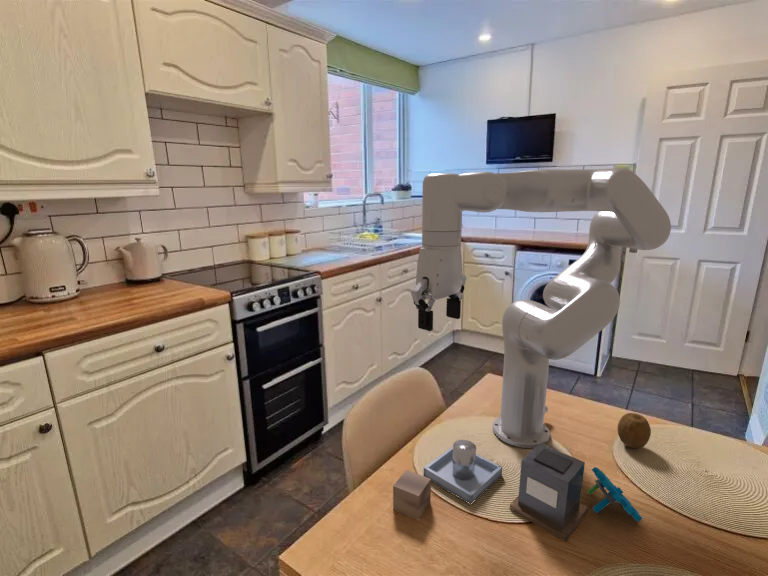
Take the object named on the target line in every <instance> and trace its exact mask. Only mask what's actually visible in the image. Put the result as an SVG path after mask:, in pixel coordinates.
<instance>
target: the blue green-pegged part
mask: <svg viewBox="0 0 768 576" xmlns="http://www.w3.org/2000/svg"><path fill="white" fill-rule="evenodd" d="M591 471H592V472H593V473H594V476H595V477H596V478H597V479H595V481H594V482H595V484H594V485H593V486H592V487H590V488H588V490H586V493H587V494H588V495H589V496H591V495H592V494H593V493H594V492H596V491H597V490H598V489H599V490H600V491H601V492H602V494H603V496H604V498H603V499H602V500H601V501H599V502H598V503H597V504H595V505H594V506H593V507H592V510H593V511H594V512H595V514H598V513H599V512H601V511H602V510H603V509H604V508H606V507H607V506H608V505H610V504H611V505H614V503H616V502H617V503H618V504H620V505H621V506H623V510H624V511H626V512H627V514H628V515H629V516H631V517H632V518H633V519H634V520H635V521H636V522H637V523H639V522H641V521H642V520H643V519H644V518H643V517H642V516H641V514H640V513H639V511H638V510H637V509H636V508H635V507H634V505H632V503H631V501H630V500H629V498H627V497H626V496H624V491H623V490H622V489H621V488H620V487H617V486H616V485H615V484H614V483H613V482H612V481H611V480H610V479H609V478H608V476H607V475H606V474H605V473H604V471H603V470H600V468H598V467H596V466H594V467H593V468H592V469H591Z"/></svg>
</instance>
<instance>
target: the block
mask: <svg viewBox="0 0 768 576" xmlns="http://www.w3.org/2000/svg"><path fill="white" fill-rule="evenodd" d="M431 485H432V481H431V479H430V478H427V477H425V476H424V475H421V474H419V473H416V472H413V471H410V470H408V469H406V470H405V471H404V472H403V473H402V474H401V476H400V477H399V478H398V479H397V480H396V481H395V483H394V484H393V485H392V509H393V511H396V512H398V513H400V514H402V515H405V516H406V517H409V518H412V519H414V520H417V521H419V520H420V519H421V517H422V516H423V515H424V513H425V511H426V510H427V509H428V507H429V505H430V504H431V499H432V498H431V497H432V496H431V494H432V493H431V492H432V491H431V490H432V486H431Z"/></svg>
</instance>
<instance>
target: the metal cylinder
mask: <svg viewBox="0 0 768 576" xmlns="http://www.w3.org/2000/svg"><path fill="white" fill-rule="evenodd" d="M452 447H453V460H452V474H453V476H454V477H455V478H457V479H459V480H463V481H467V480H471V479H472V478H473V477H474V473H475V458H476V454H477V447H476V444H475V443H474V442H472V441H470V440H468V439H458V440H456V441H454V442H453V445H452Z"/></svg>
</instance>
